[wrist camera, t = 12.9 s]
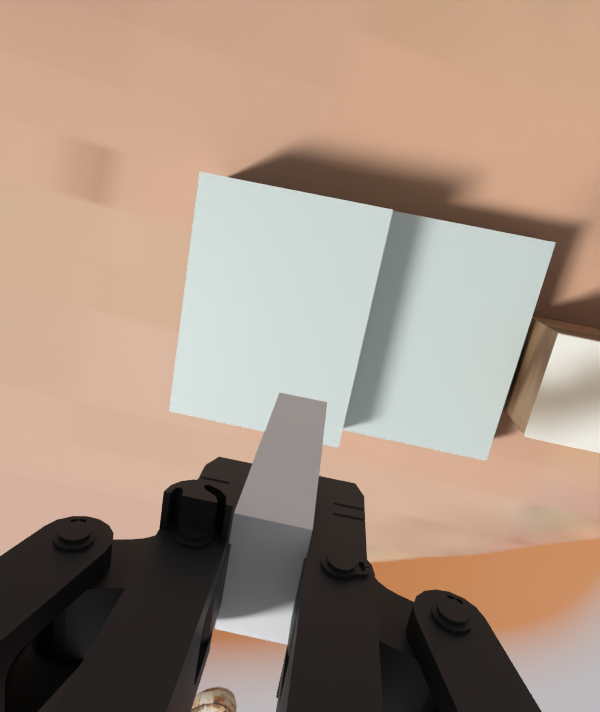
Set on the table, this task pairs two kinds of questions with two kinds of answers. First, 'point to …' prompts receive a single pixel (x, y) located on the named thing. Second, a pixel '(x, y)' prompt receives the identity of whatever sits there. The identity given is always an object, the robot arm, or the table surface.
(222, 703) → the trinket box
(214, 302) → the steps
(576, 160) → the table surface
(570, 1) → the table surface
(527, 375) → the cube
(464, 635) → the robot arm
